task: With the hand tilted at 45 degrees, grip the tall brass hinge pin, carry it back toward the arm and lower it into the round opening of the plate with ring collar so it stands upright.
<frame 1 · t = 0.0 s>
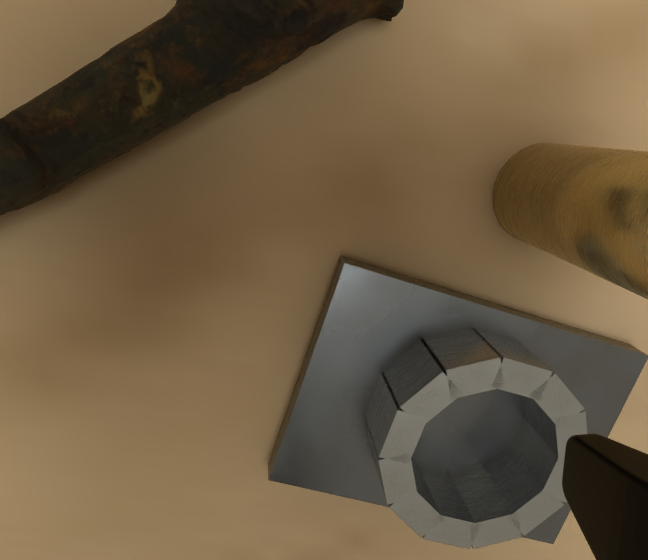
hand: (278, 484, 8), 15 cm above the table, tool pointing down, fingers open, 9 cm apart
brass hinge pin: (540, 193, 23), on the table
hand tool: (156, 111, 21), on the table
plate with ring collar: (450, 404, 25), on the table
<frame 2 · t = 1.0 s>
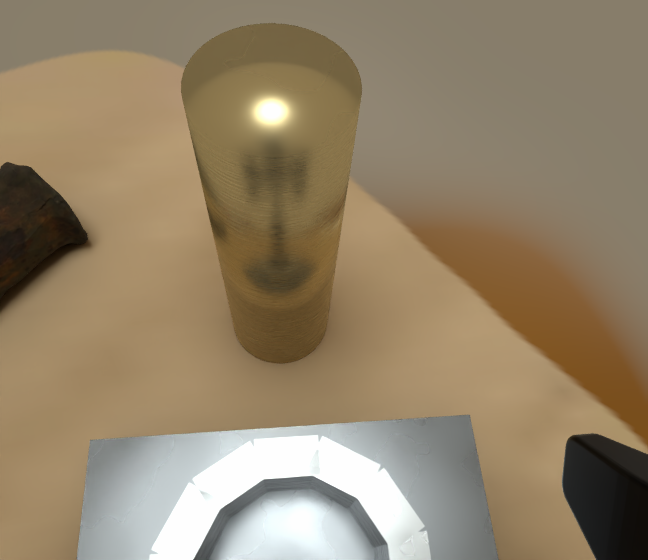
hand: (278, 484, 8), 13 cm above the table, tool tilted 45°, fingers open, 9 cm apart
brass hinge pin: (280, 318, 24), on the table
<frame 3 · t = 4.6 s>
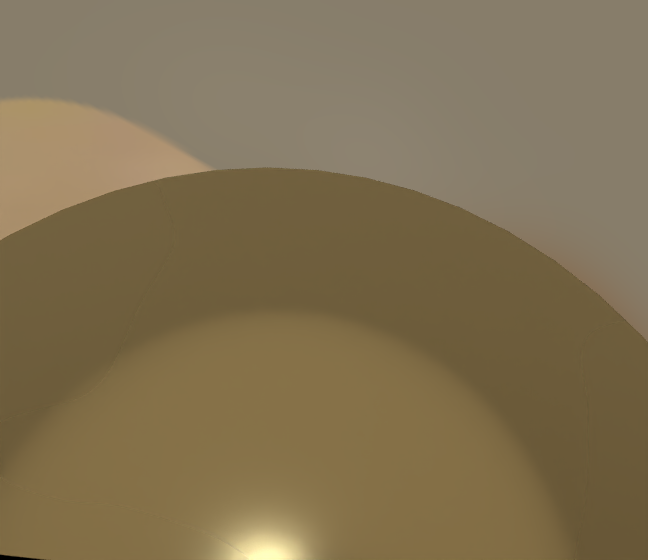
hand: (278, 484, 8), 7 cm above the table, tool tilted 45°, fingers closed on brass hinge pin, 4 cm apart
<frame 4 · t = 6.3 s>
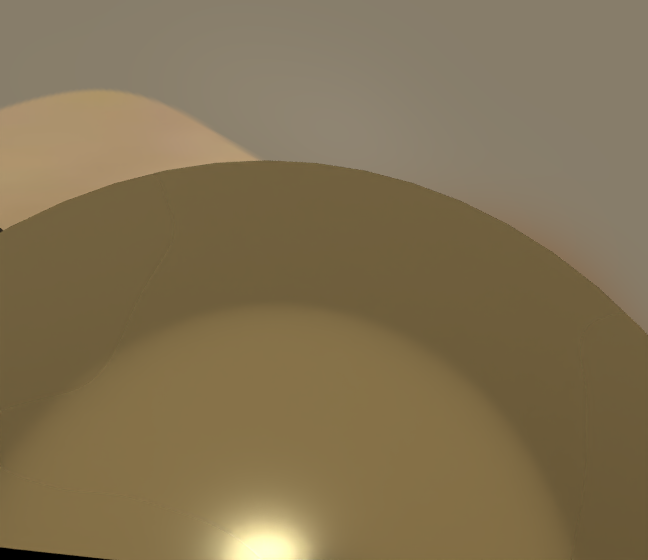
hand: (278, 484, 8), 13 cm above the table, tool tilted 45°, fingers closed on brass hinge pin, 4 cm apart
when the fingers open (8 cm above the table, at t = 8.1 s): brass hinge pin stays where it is, resting on plate with ring collar.
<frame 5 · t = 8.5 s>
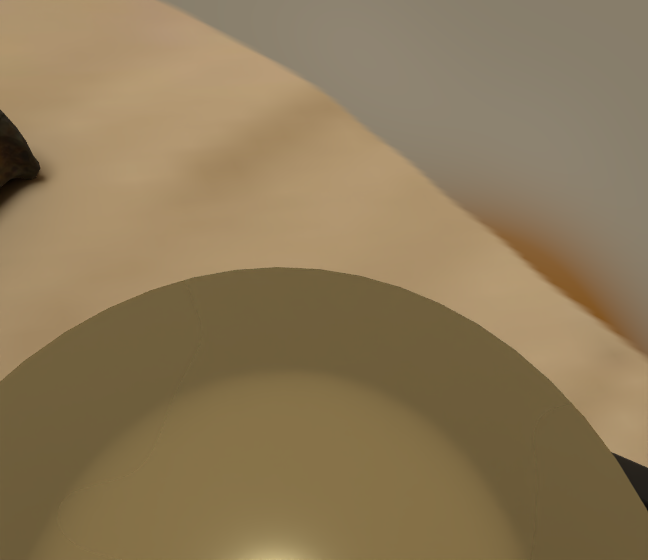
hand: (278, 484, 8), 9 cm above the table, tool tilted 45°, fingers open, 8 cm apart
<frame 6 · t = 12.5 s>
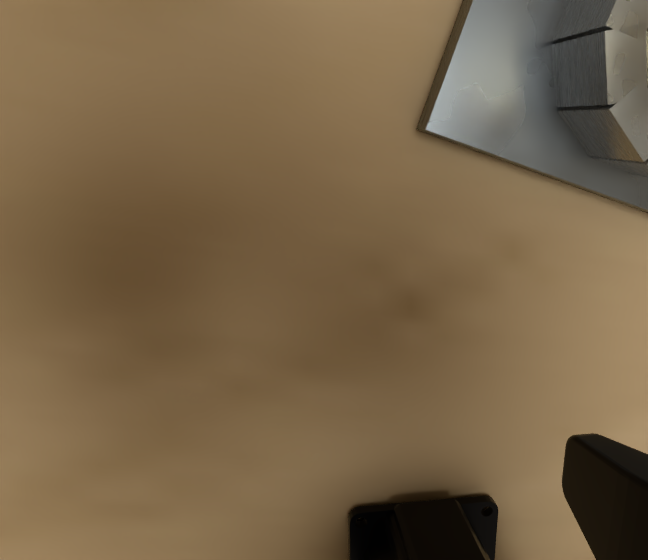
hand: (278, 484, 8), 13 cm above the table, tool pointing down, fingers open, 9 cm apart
plate with ring collar: (644, 56, 20), on the table
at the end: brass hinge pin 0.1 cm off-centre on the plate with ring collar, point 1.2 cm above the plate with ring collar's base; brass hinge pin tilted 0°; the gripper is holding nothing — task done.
